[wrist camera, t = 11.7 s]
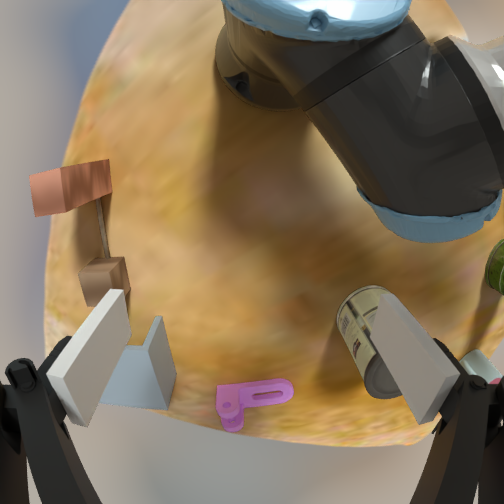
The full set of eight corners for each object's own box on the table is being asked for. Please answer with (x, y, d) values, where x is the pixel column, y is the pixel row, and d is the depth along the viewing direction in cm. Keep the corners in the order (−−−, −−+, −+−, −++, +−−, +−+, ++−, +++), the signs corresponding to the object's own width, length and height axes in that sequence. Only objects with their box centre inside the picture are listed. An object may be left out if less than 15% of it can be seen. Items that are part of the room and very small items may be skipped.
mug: (485, 357, 51) (506, 381, 41) (459, 384, 53) (478, 411, 44) (469, 335, 48) (494, 363, 38) (439, 367, 50) (461, 397, 41)
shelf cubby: (89, 315, 43) (67, 345, 35) (162, 316, 43) (147, 350, 35) (110, 370, 47) (94, 402, 39) (176, 373, 47) (167, 410, 39)
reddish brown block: (80, 164, 35) (27, 175, 23) (110, 159, 35) (61, 167, 23) (102, 288, 41) (66, 332, 30) (130, 288, 41) (99, 334, 30)
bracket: (224, 404, 50) (222, 432, 44) (217, 384, 48) (214, 414, 42) (293, 395, 50) (299, 424, 43) (291, 375, 48) (297, 404, 41)
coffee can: (398, 324, 45) (436, 377, 32) (343, 348, 46) (370, 410, 33) (390, 274, 42) (438, 323, 28) (328, 299, 43) (359, 360, 29)
